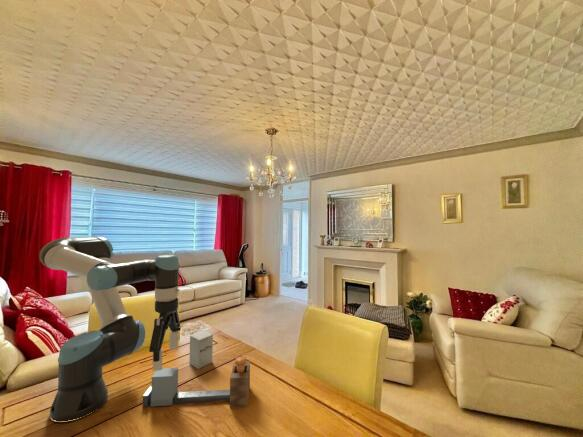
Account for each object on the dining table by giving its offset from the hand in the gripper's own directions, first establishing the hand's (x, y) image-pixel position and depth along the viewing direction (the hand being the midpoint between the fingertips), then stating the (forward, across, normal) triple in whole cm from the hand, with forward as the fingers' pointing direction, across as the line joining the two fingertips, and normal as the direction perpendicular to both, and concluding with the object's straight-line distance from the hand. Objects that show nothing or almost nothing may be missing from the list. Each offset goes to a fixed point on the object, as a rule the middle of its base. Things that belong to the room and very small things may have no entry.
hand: (166, 358), depth 87 cm
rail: (+15, 0, -9) cm, 17 cm away
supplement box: (+15, +24, -6) cm, 29 cm away
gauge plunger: (+8, 0, -26) cm, 27 cm away
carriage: (+15, 0, 0) cm, 15 cm away
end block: (+15, 0, -26) cm, 30 cm away
